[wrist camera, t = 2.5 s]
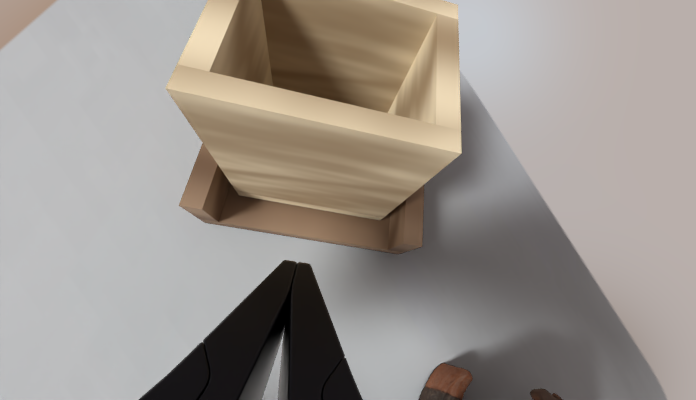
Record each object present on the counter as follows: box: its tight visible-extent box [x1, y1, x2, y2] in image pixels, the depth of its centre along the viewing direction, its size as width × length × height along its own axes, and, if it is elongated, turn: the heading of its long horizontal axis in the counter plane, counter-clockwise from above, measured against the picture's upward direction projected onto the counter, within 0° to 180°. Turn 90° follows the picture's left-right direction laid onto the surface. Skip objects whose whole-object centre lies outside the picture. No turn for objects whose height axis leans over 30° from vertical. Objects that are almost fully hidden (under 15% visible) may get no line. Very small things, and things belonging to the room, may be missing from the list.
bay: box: [179, 144, 424, 254], centre depth 18 cm, size 18×14×6 cm
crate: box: [166, 0, 462, 220], centre depth 14 cm, size 8×10×10 cm
